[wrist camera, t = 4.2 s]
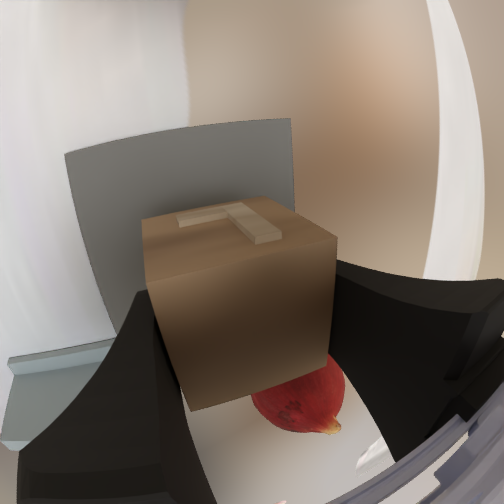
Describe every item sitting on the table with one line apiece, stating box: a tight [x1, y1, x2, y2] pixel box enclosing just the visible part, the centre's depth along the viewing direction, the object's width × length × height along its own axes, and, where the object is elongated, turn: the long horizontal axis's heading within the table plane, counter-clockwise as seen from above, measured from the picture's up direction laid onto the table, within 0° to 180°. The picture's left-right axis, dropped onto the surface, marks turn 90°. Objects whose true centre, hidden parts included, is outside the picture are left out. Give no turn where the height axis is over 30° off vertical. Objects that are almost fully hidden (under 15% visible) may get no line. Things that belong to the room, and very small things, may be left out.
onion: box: [251, 354, 345, 435], centre depth 17 cm, size 6×6×8 cm
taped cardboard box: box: [141, 196, 337, 412], centre depth 9 cm, size 5×5×5 cm
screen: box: [0, 339, 115, 451], centre depth 12 cm, size 3×9×6 cm, turn 95°
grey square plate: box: [64, 118, 295, 335], centre depth 15 cm, size 11×11×1 cm
